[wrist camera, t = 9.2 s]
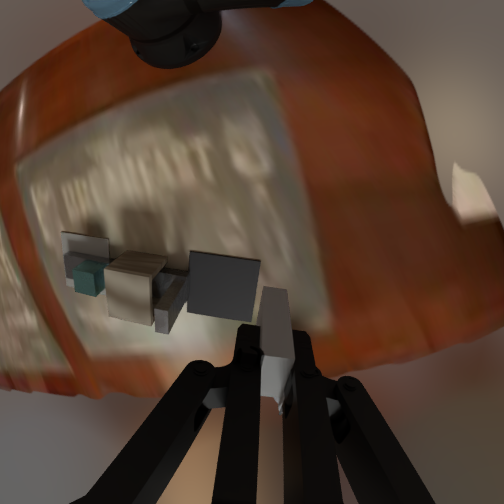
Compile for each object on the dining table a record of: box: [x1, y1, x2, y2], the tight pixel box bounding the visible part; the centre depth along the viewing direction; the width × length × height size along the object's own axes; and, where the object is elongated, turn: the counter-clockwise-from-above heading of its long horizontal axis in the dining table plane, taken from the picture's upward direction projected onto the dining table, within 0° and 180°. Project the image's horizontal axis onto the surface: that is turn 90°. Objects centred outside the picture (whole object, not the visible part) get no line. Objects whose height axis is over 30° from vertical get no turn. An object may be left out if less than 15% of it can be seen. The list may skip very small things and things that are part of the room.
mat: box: [61, 232, 109, 295], centre depth 50 cm, size 12×12×1 cm
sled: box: [63, 251, 190, 334], centre depth 44 cm, size 5×26×12 cm, turn 82°
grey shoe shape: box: [187, 251, 261, 322], centre depth 50 cm, size 12×12×1 cm
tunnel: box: [104, 250, 168, 326], centre depth 46 cm, size 9×8×9 cm
